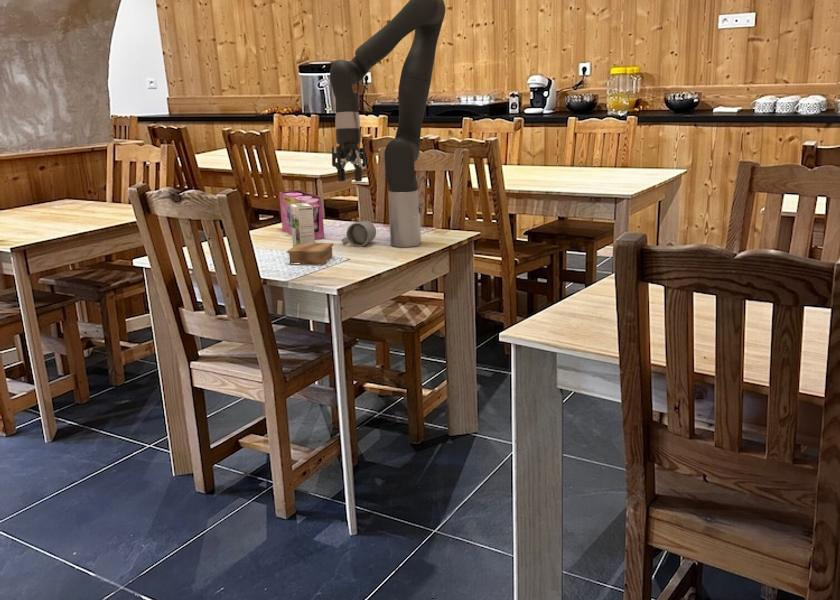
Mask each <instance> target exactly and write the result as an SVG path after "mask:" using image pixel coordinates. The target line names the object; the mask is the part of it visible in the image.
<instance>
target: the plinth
mask: <svg viewBox="0 0 840 600" xmlns="http://www.w3.org/2000/svg"><path fill="white" fill-rule="evenodd" d="M333 246H334V242H333V243H332V242H315V243H298V244H297V245H295V246H294V247H293V246H292V247H291V248H289V249H288V250H287V251H286V253H287V254H289V255H288V256H289V264H290V263H300V264H299V265H316V264H323V265H325V264H324V263H325V262H326V261H327V260H328V261H329V260H330V259H331V258H333V257H332V256H333ZM328 261H327V262H328ZM327 262H326V263H327Z"/></svg>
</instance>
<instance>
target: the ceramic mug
mask: <svg viewBox="0 0 840 600" xmlns="http://www.w3.org/2000/svg"><path fill="white" fill-rule="evenodd" d="M345 235H346V237H344V238H343V239H341V242H342V244H343V245H346V244H347V243H349V244H350V245H352V246H353V247H356V248H360V247H364V246H366V245H367V244H369V243H371V242H373V241H374V240H375V238H376V235H377V228H376V226H375V225H374V224H373V223H372V222H371V221H368V220H361V221H357V222H353V223H352V224H350V225H349V226H348V228H347V229H346V234H345Z"/></svg>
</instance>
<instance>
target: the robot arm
mask: <svg viewBox="0 0 840 600" xmlns="http://www.w3.org/2000/svg"><path fill="white" fill-rule="evenodd" d="M445 14H446V5H445V1H444V0H409V1H408V2H407V3H406V4H405V5H404V6H403V7H402V8H401V10H400V11H398V13H397V14H396V15H395V16H394V17H393V18H392V19H391V20H389V21H388V23H387V24H385V25H384V26H383V27H382V28H381V29H379V30H378V31H377V32H376V33H374V34H373V35H372V36H371V37H370V38H368V39H367V40H366V41H365V42H363V43H362V44H361V45H360V46H358V47H357V48H356V50H355V52H354V55H355V56H354V57H353V58H351V60H349V61H348V60H345V59H337V60H336V61H334V62H333V63H332V64H331V67H330V70H329V80H330V84H331V88H332V93H333V96H334V99H335V105H334V106H335V122H334V123H335V139H336V140H335V142H336V144H337V145H338V146H332V147H331V166H332V167H335V169H336V170H337V173H336V174H337V181H338V182H346V168H345V167H346V165H347V164H348V163H349V162H350V164H352V165H353V167H354V181H355V182H362V181H363V168H366V167H367V157H366V148H365V147H359V144H360V143H361V119H360V111H359V98H358V95H357V93H355V92H354V90H353V86H354V85H357V84H358V83H359V82H361V81H362V80H363V79H364V78H365V77H366V75H367V74H368V73H369V72H370V71H371V69H372V68H373V67H374V66H376V65H377V64H378V63H380V62H381V61H383V59H385V58H386V57H387V56H389V54H391V52H393V50H394V49H395V48H396V47H397V45H399V43H400V42H401V41H402V40H403V39H405V37H406V36H407V35H409V34H410V33H412V32H413V31H414V36H413V40H412V43H411V46H410V49H409V50H408V53H407V55H406V58H405V60H404V63H403V65H402V68H401V72H400V77H399V78H400V79H399V83H398V95H397V96H398V97H397V101H398V103H397V104H398V115H399V117H398V123H397V129H396V132H395V137H394V139H391V140H390V141H389V142H388V143H387V145H386V146H385V149H384V171H385V173H384V174H385V180H386V183H387V189H388V190H387V191H388V193H387V194H388V210H389V211H388V213H389V217H388V219H389V235H390V237H389V239H390V242H389V243H390V246H392V247H396V248H410V247H419V246H420V245H421V243H422V241H421V239H422V237H421V234H422V233H421V213H420V212H419V211H420V209H419V185H418V184H419V182H418V180H417V178H416V174H415V173H416V172H415V163H416V162H417V160H418V158H419V155H420V147H421V145H420V144H421V137H422V135H421V134H422V133H421V132H422V125H423V120H424V115H425V112H426V107H427V103H428V97H429V93H430V89H431V85H432V84H431V82H432V77H433V70H434V63H435V58H436V57H435V56H436V52H437V51H436V49H437V45H438V39H439V37H440V32H441V29H442V26H443V22H444V19H445V16H446V15H445ZM420 242H421V243H420Z"/></svg>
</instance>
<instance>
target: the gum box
mask: <svg viewBox="0 0 840 600" xmlns="http://www.w3.org/2000/svg"><path fill="white" fill-rule="evenodd" d="M279 202H280V203H279V205H280V214H281V215H280V217H281V226H282V227H281V228H282V231H283V232H285V233H287V234H289V235H291V236H292V224H291V207H290V205H292V204H299V203H306V204H309V205H311V206H313V222H314V239H315V240H322V239H321V238H323V239H325V227H324V216H323V215H324V213H323V203H322V198H321V196H318V195H314V194H311V193H308V192H305V191H302V190H300V189H299V190H290V191H280V192H279Z"/></svg>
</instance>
